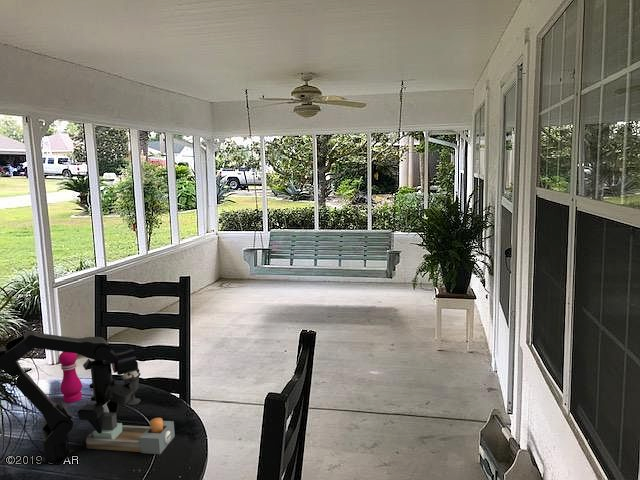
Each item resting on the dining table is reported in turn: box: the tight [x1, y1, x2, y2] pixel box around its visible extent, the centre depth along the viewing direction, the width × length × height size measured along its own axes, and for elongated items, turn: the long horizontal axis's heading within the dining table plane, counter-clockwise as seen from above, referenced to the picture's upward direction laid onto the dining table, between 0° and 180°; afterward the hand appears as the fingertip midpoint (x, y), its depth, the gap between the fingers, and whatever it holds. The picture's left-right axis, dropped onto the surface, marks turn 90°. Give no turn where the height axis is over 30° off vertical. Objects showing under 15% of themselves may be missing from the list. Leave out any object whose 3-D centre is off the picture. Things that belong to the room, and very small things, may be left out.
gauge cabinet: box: [140, 420, 176, 455], centre depth 160 cm, size 10×6×5 cm, turn 171°
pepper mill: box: [58, 352, 83, 404], centre depth 190 cm, size 7×7×20 cm
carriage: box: [92, 412, 123, 439], centre depth 162 cm, size 6×6×7 cm
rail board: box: [85, 424, 150, 453], centre depth 162 cm, size 9×18×4 cm, turn 81°
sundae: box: [120, 368, 141, 406], centre depth 187 cm, size 7×7×15 cm
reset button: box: [149, 417, 164, 434], centre depth 159 cm, size 4×4×4 cm
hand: (107, 426), depth 162 cm, fingers open, 8 cm apart
